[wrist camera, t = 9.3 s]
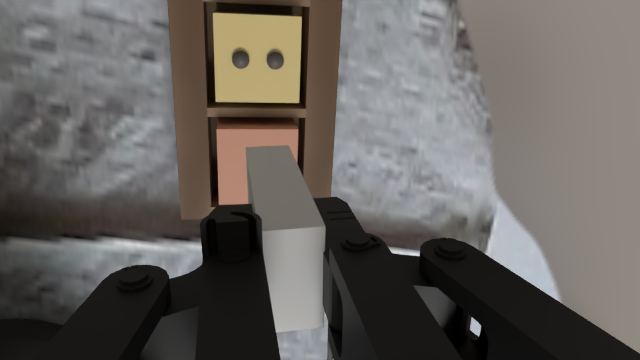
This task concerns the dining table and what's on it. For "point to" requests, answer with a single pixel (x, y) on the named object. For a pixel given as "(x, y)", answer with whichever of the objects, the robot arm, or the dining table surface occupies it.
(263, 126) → the tile one
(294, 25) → the tile two
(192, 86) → the key strip
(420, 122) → the dining table surface
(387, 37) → the dining table surface
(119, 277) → the robot arm
